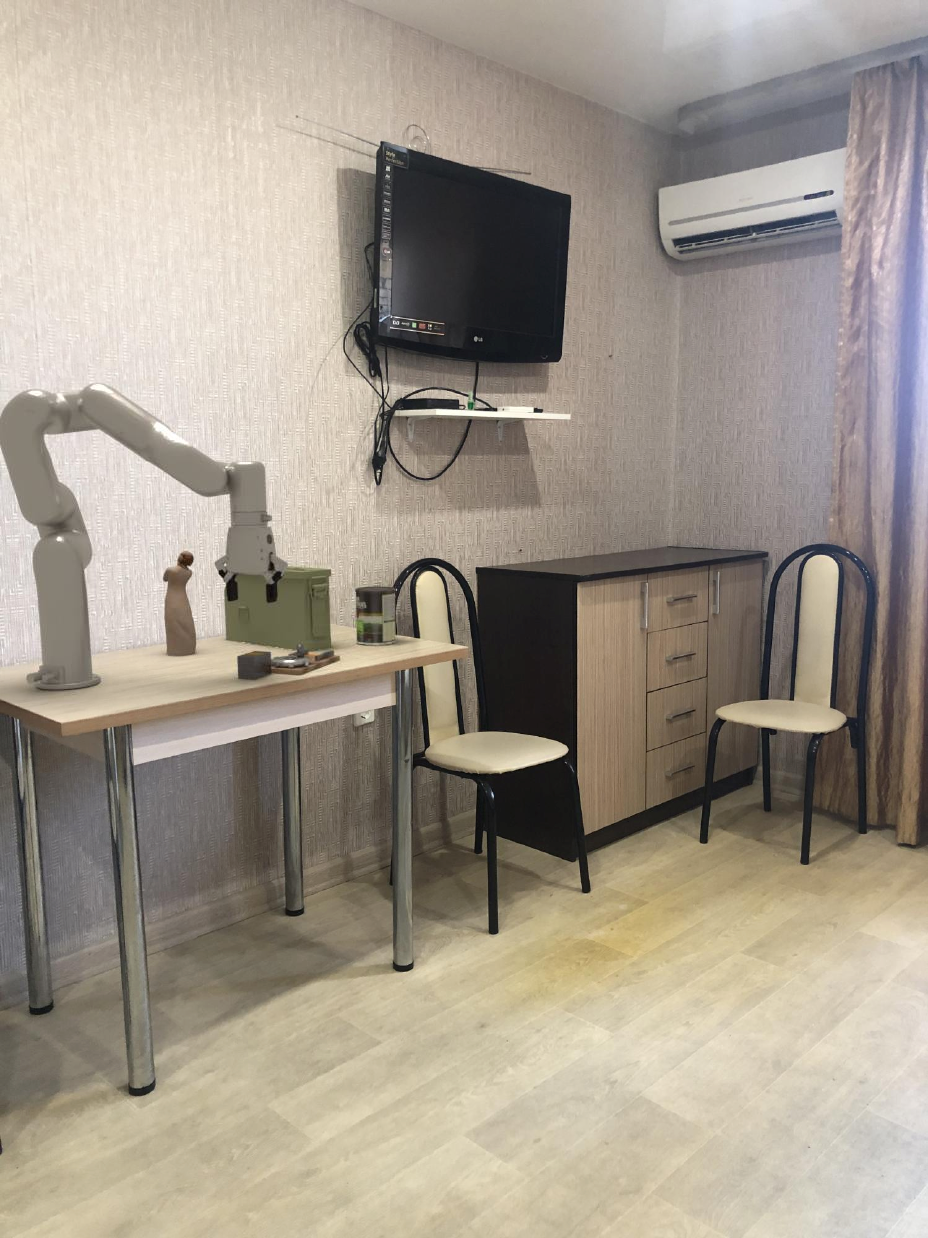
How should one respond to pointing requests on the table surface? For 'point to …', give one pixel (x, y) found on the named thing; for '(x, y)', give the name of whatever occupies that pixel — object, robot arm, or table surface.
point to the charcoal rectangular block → (254, 665)
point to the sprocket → (292, 659)
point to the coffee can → (375, 615)
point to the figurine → (179, 608)
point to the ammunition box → (282, 610)
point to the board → (318, 662)
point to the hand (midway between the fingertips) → (252, 601)
